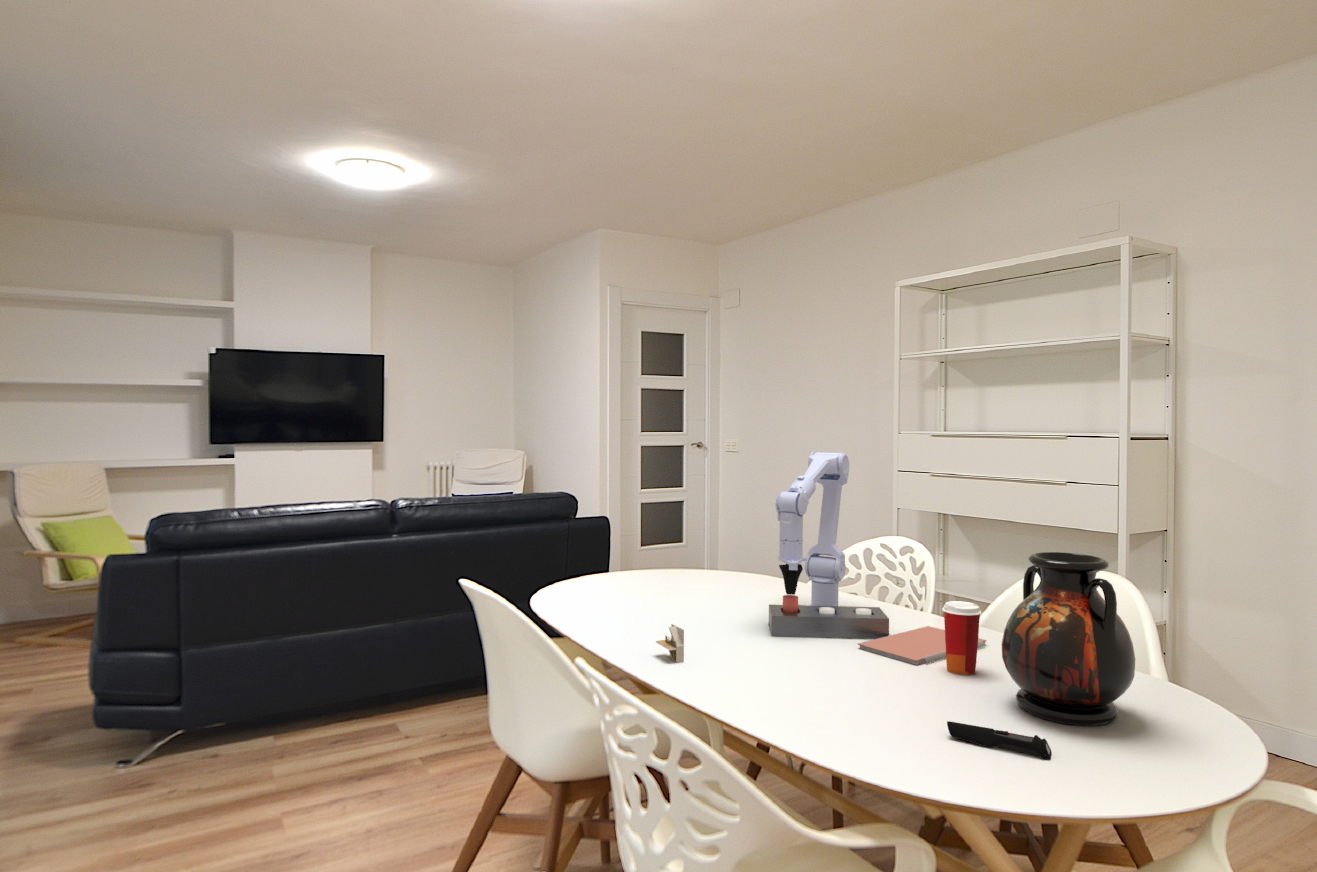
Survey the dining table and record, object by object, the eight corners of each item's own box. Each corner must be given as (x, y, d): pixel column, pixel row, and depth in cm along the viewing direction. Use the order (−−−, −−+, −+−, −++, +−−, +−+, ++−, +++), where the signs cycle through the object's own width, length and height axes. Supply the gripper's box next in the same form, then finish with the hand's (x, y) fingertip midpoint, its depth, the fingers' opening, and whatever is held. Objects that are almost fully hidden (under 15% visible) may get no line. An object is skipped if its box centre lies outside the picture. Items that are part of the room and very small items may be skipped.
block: (768, 623, 203) (768, 604, 203) (878, 626, 201) (879, 607, 201) (771, 636, 191) (771, 615, 191) (888, 639, 189) (889, 618, 189)
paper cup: (974, 665, 169) (975, 600, 169) (985, 677, 161) (986, 609, 161) (936, 664, 170) (937, 599, 169) (946, 675, 162) (947, 608, 162)
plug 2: (854, 627, 197) (854, 607, 197) (869, 627, 197) (869, 608, 197) (856, 631, 194) (857, 611, 194) (872, 631, 193) (872, 611, 193)
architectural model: (670, 666, 169) (670, 631, 169) (655, 657, 175) (656, 624, 175) (684, 664, 170) (684, 629, 170) (669, 655, 177) (669, 622, 176)
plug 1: (817, 626, 198) (818, 606, 198) (833, 626, 198) (833, 607, 198) (819, 630, 194) (820, 610, 194) (835, 630, 194) (835, 610, 194)
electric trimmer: (949, 735, 132) (949, 716, 132) (1052, 754, 124) (1052, 734, 124) (944, 742, 129) (944, 723, 129) (1050, 762, 121) (1049, 742, 121)
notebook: (920, 669, 168) (920, 660, 168) (857, 650, 181) (857, 642, 181) (990, 648, 184) (990, 639, 184) (928, 632, 198) (928, 624, 198)
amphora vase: (975, 698, 149) (977, 551, 148) (1060, 685, 156) (1063, 545, 156) (1071, 741, 129) (1073, 571, 128) (1164, 724, 136) (1167, 563, 136)
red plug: (782, 614, 199) (782, 594, 199) (797, 614, 199) (797, 595, 198) (783, 618, 195) (783, 597, 195) (798, 618, 195) (798, 598, 195)
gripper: (810, 544, 189) (809, 600, 189) (804, 535, 203) (803, 588, 204) (780, 543, 190) (780, 599, 190) (776, 535, 204) (776, 587, 204)
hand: (790, 593), depth 197 cm, fingers closed
